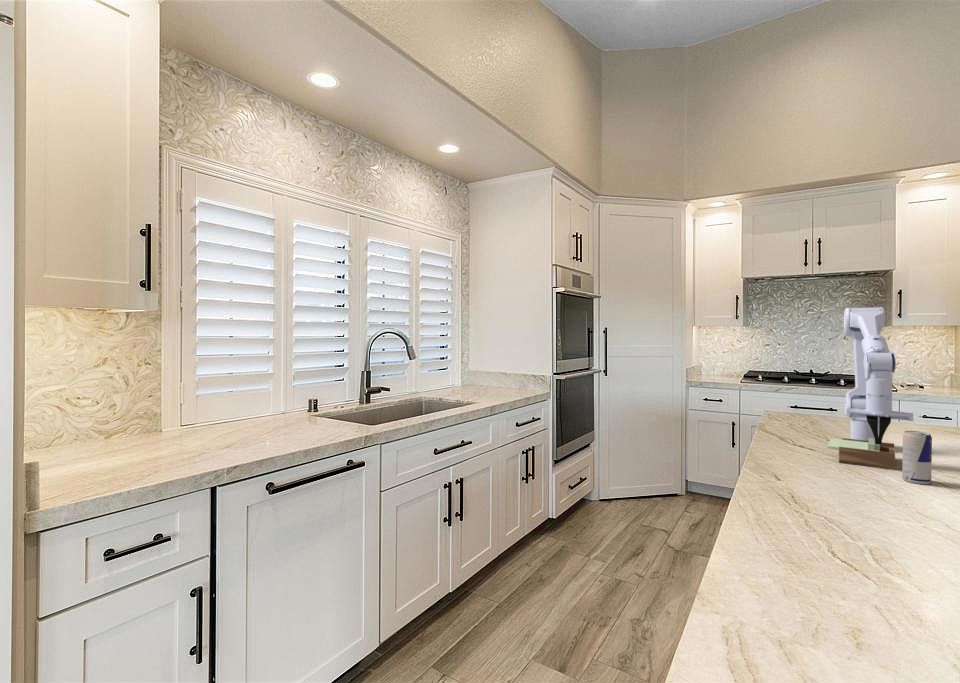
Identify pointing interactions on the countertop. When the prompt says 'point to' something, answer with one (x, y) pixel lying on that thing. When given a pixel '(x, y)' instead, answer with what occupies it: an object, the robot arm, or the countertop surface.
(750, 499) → the countertop surface
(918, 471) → the energy drink
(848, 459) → the box
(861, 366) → the robot arm
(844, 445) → the lid
